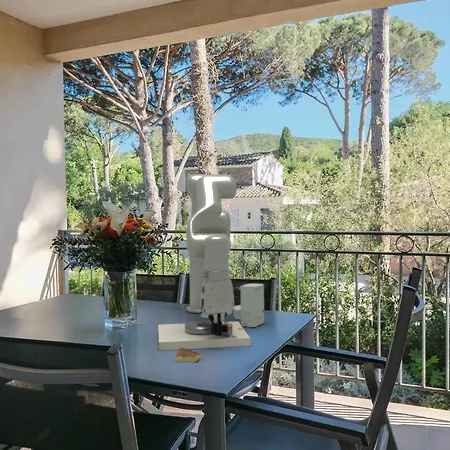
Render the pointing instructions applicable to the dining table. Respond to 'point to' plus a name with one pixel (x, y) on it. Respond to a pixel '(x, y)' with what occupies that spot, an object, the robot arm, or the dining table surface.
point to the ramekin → (237, 312)
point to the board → (199, 338)
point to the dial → (206, 328)
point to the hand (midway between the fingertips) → (216, 334)
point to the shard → (187, 356)
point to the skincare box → (252, 305)
